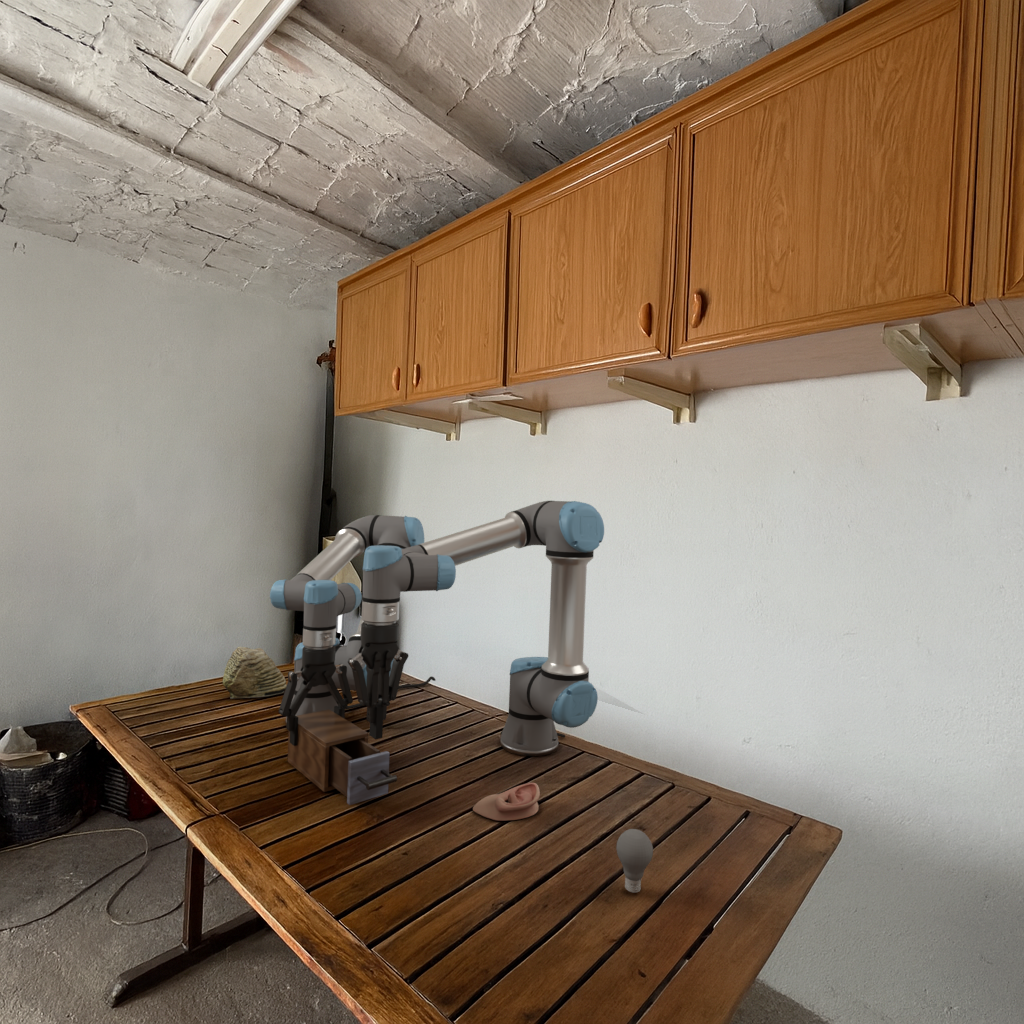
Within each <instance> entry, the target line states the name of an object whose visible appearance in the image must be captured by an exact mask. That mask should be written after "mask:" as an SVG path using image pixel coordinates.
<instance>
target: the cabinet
mask: <svg viewBox="0 0 1024 1024" xmlns="http://www.w3.org/2000/svg"><path fill="white" fill-rule="evenodd" d="M297 717H298V742H297V746H294V745H292V744H291V743H290V731H288V737H287V739H288V740H287V763H288V764H290V765H291V766H292V767H293V768H294V769H296V770H297V771H298V772H299V773H301V774H302V775H303V776H304V777H305V778H306V779H308V780H309V781H310V782H311V783H312V784H314V785H315V786H316V787H317V788H318V789H320V790H321V791H322V792H323V793H326V792H329V791H330V792H331V791H333V790H337V789H336V788H335V787H333V786H332V785H331V784H330V783H328V775H329V746H332V745H336V744H340V743H344V742H349V741H353V740H357V739H362V740H364V741H365V742H367V743H368V744H369V732H368V731H366V730H364V729H363V728H361V727H359V726H357V724H354V723H352V722H351V721H350V720H348V719H346V718H342V717H341V716H339V715H337V714H336V713H334V712H332V711H331V710H329V709H328V710H323V711H318V712H313V713H308V714H303V715H298V716H297Z"/></svg>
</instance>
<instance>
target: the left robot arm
mask: <svg viewBox="0 0 1024 1024" xmlns="http://www.w3.org/2000/svg"><path fill="white" fill-rule="evenodd" d="M422 543H425V531H424V527H423V524H422V522H421V520H420V519H419V518H418V517H414V516H407V515H404V516H401V515H400V516H399V515H382V514H369V515H366V516H363V517H359V518H357V519H355V520H352V521H351V522H350V523H348V524H346V525H345V526H343V527H342V528H341V529H339V530H338V531H337V532H336V534H335V537H334V540H333V541H332V542H331V543H330V544H328V545H327V546H326V547H325V548H324V549H323V550H321V552H320V553H318V555H316V556H315V557H314V558H313V559H312V560H311V561H310V562H308V564H306V565H305V566H304V567H303V568H302V569H300V571H298V573H296V574H295V576H293V577H292V578H291V579H279V580H276V581H275V582H274V583H273V584H272V585H271V588H270V591H269V599H270V604H271V606H273V607H274V608H275V609H280V610H286V611H297V612H303V625H302V627H303V628H302V642H299V643H298V644H297V645H296V647H295V652H294V653H295V654H294V659H293V661H294V671H292V670H290V671H288V673H287V682H286V685H287V686H286V689H285V691H284V692H283V696H282V699H281V702H280V705H279V708H278V714H280V715H281V716H282V717H284V718H285V726H286V728H285V729H286V730H287V732H289V731H290V743H291V744H292V745H294V746H297V742H298V717H297V716H298V715H303V714H308V713H313V712H318V711H323V710H328V709H329V710H331V711H332V712H334V713H336V714H337V715H339V716H341V717H342V718H344V719H346V710H351V709H356V708H361V707H365V706H364V705H363V704H361V703H359V702H358V703H355V704H353V702H354V699H353V695H352V691H354V692H356V687H355V682H354V677H353V672H352V668H351V667H350V665H349V664H348V659H349V658H352V659H353V658H354V657H355V656H357V655H358V654H359V649H360V647H361V624H362V623H363V622H364V621H363V620H362V619H361V618H360V620H359V624H358V627H357V630H356V633H354V634H352V635H350V636H349V638H348V641H347V644H346V645H345V644H343V645H342V644H340V643H341V641H340V639H339V638H338V637H337V618H338V617H339V616H342V615H345V614H349V613H351V612H353V611H355V610H357V608H359V607H360V605H361V604H362V598H363V594H362V592H361V589H360V588H359V587H358V585H357V584H355V583H353V582H341V583H337V581H335V580H333V579H334V578H335V577H336V576H337V575H338V574H339V573H340V572H341V571H342V570H343V569H344V568H345V567H346V566H347V565H348V564H349V563H350V562H351V561H352V560H353V559H356V558H358V557H360V556H361V555H362V554H365V550H366V549H367V548H368V547H369V546H376V545H383V546H397V547H400V548H402V549H405V548H408V547H412V546H415V545H419V544H422ZM393 661H394V659H393V660H392V662H391V668H392V664H393ZM362 663H363V666H361V667H362V669H363V672H364V677H365V682H366V687H367V671H366V664H365V662H364V661H363V659H362ZM390 672H391V671H390ZM390 672H389V676H390ZM431 681H434V682H436V678H435V676H429V677H428V678H427V679H426V680H425V681H423V682H420V683H413V684H412V683H411V684H399V687H398V690H401V689H407V688H408V689H409V688H419V687H424V686H426V685H428V684H429V683H430V682H431ZM339 690H341V693H340V691H339Z"/></svg>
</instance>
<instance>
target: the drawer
mask: <svg viewBox="0 0 1024 1024" xmlns="http://www.w3.org/2000/svg"><path fill="white" fill-rule="evenodd" d="M397 781H398V777H397V775H396V774H394V775H393V774H391V773H390V752H389V751H387V750H385V751H381V750H380V749H378V748H376V747H375V746H373V745H372V744H370V743H369V742H368V743H367V742H365V741H364V740H362V739H357V740H353V741H349V742H344V743H340V744H336V745H332V746H329V775H328V783H330V784H331V785H332V786H333V787H335V788H336V789H335V790H336V791H338V792H340V793H341V794H342V795H343V796H345V797H346V804H347V805H348V806H352V805H355V804H358V803H361V802H365V801H368V800H372V799H375V798H378V797H382V796H384V795H388V794H389V785H391V784H393V783H396V782H397Z"/></svg>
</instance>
